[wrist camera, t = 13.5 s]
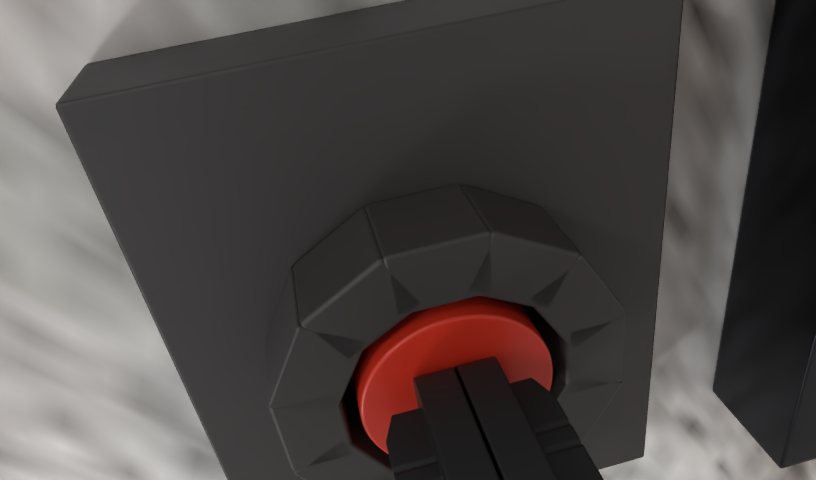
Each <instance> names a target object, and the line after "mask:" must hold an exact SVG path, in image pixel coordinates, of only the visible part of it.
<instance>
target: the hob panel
mask: <svg viewBox="0 0 816 480" xmlns="http://www.w3.org/2000/svg"><path fill="white" fill-rule="evenodd" d="M713 392H714V393H715V394H716V395H717V397H718V398H719V399H720V400H721V401H722V402H723V403H724V405H725V406H726V407H727V408H728V409H729V410H730V411H731V413H732V414H733V415H734V416H735V417H736V418H737V419H738V421H739V422H740V423H741V424H742V425H743V426H744V427H745V429H746V430H747V431H748V432H749V433H750V434H751V435H752V437H753V438H754V439H755V440H756V441H757V442H758V443H759V445H760V446H761V447H762V448H763V449H764V450H765V451H766V453H767V454H768V455H769V456H770V457H771V458H772V460H773V461H774V462H775V463H776V464H777V465H778V466H779V467H780V468H785V467H789V466H792V465H795V464H799V463H802V462H805V461H809V460H812V459H815V458H816V0H776V3H775V9H774V15H773V22H772V28H771V34H770V40H769V46H768V52H767V59H766V65H765V71H764V77H763V83H762V89H761V96H760V102H759V108H758V114H757V120H756V126H755V133H754V139H753V145H752V151H751V157H750V164H749V170H748V176H747V182H746V188H745V194H744V201H743V207H742V213H741V219H740V225H739V231H738V238H737V244H736V250H735V256H734V262H733V268H732V275H731V281H730V287H729V293H728V299H727V306H726V312H725V318H724V324H723V330H722V336H721V343H720V349H719V355H718V361H717V367H716V373H715V380H714V386H713Z"/></svg>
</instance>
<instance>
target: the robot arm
mask: <svg viewBox="0 0 816 480" xmlns="http://www.w3.org/2000/svg"><path fill="white" fill-rule="evenodd" d="M454 370H455V371H454ZM413 383H414V389H415V394H416V399H417V405H418V408H417V409H414V410H410V411H406V412H403V413H399V414H395V415H392V417H391V421H390V426H389V430H388V434H387V439H386V445H387V449H388V454H389V458H390V462H391V466H392V470H393V475H394V479H395V480H603V478H602V476H601V474H600V473H599V471H598V469H597V467H596V466H595V464H594V462H593V461H592V459H591V457H590V455H589V454H588V452H587V450H586V448H585V447H584V445H582V444H581V441H580V438H579V436H578V435H577V433H576V431H575V429H574V428H573V426H572V424H570V423H569V419H568V417H567V416H566V414H565V412H564V410H563V409H562V407H561V405H560V404H559V402H558V400H557V398H556V397H555V395H554V394H552V393H551V392H550V391H548V390H547V389H546V388H545V387H543V386H542V385H541V384H539V383H538V382H537V381H535V380H534V379H533V378H528V379H524V380H520V381H516V382H513V383H509V381H508V379H507V377H506V375H505V373H504V371H503V369H502V367H501V365H500V363H499V362H498V360H497V358H496V357H494V356H493V357H489V358H485V359H481V360H477V361H474V362H470V363H466V364H462V365H459V366H455V368H454V369H453V368H448V369H444V370H440V371H437V372H433V373H429V374H425V375H422V376H418V377H414V378H413Z"/></svg>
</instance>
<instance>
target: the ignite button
mask: <svg viewBox="0 0 816 480" xmlns="http://www.w3.org/2000/svg"><path fill="white" fill-rule="evenodd" d="M493 356H494V357H496V358H497V360H498V362H499V363H500V365H501V367H502V369H503V371H504V373H505V375H506V377H507V379H508V381H509V383H513V382H516V381H520V380H524V379H528V378H533V379H534V380H535V381H537V382H538V383H539V384H541V385H542V386H543V387H545V388H546V389H547V390H548V391H550V389H551V384H552V377H553V366H552V359H551V355H550V352H549V350H548V348H547V346H546V344H545V342H544V340H543V339H542V337H541V335H540V334H539V332H538V331H537V329H536V327H535V326H534V324H533V323H532V321H531V319H530V318H529V316H528V314H527V313H526V311H525V310H524V308H523V306H522V305H521V304H517V303H512V302H508V301H503V300H498V299H493V298H489V297H484V296H476V297H472V298H468V299H464V300H460V301H456V302H452V303H449V304H445V305H441V306H437V307H433V308H429V309H425V310H421V311H417V312H413V313H411V314H409V315H408V316H407V317H406V318H404V319H403V320H402V321H400V322H399V323H398V324H397V325H395V326H394V327H393V328H391V329H390V330H389V331H388V332H386V333H385V334H384V335H382V336H381V337H380V338H379V339H377V340H376V341H375V342H373V343H372V344H371V345H370V346H368V347H367V348H366V349H364V350H363V351H362V353H361V356H360V358H359V360H358V363H357V365H356V367H355V370H354V372H353V374H352V378H353V383H354V388H355V393H356V398H357V402H358V407H359V412H360V417H361V421H362V424H363V427H364V429H365V431H366V433H367V434H368V436H369V437H370V439H371V440H372V441H373V442H374V443H375V444H376V445H377V446H378V447H379V448H380V449H382V450H383V451H384V452H386V453H387V454H388V449H387V445H386V439H387V434H388V430H389V426H390V421H391V417H392V415H395V414H399V413H403V412H406V411H410V410H414V409H417V408H418V405H417V399H416V394H415V389H414V383H413V378H414V377H418V376H422V375H425V374H429V373H433V372H437V371H440V370H444V369H448V368H453V369H454V368H455V366H459V365H462V364H466V363H470V362H474V361H477V360H481V359H485V358H489V357H493ZM454 371H455V370H454Z"/></svg>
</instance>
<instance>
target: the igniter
mask: <svg viewBox="0 0 816 480" xmlns="http://www.w3.org/2000/svg"><path fill="white" fill-rule="evenodd" d="M682 9H683V0H405V1H400V2H395V3H390V4H385V5H380V6H375V7H370V8H365V9H360V10H355V11H350V12H345V13H340V14H335V15H330V16H325V17H320V18H315V19H310V20H305V21H300V22H295V23H290V24H285V25H280V26H275V27H270V28H265V29H260V30H255V31H250V32H245V33H240V34H235V35H230V36H225V37H219V38H214V39H209V40H204V41H199V42H194V43H189V44H184V45H179V46H174V47H169V48H164V49H159V50H154V51H149V52H144V53H139V54H134V55H129V56H124V57H119V58H114V59H109V60H104V61H99V62H94V63H89V64H87V65H85V66H84V68H83V69H82V70H81V72H80V73H79V74H78V76H77V77H76V78H75V80H74V81H73V82H72V84H71V85H70V86H69V88H68V89H67V90H66V92H65V93H64V94H63V95H62V97H61V98H60V99H59V101H58V102H57V103H56V109H57V111H58V114H59V116H60V118H61V120H62V122H63V124H64V126H65V129H66V131H67V133H68V135H69V137H70V139H71V142H72V144H73V146H74V148H75V150H76V152H77V155H78V157H79V159H80V161H81V163H82V165H83V168H84V170H85V172H86V174H87V176H88V178H89V181H90V183H91V185H92V187H93V189H94V191H95V194H96V196H97V198H98V200H99V202H100V204H101V207H102V209H103V211H104V213H105V215H106V217H107V220H108V222H109V224H110V226H111V228H112V230H113V233H114V235H115V237H116V239H117V241H118V243H119V246H120V248H121V250H122V252H123V254H124V256H125V259H126V261H127V263H128V265H129V267H130V269H131V272H132V274H133V276H134V278H135V280H136V282H137V285H138V287H139V289H140V291H141V293H142V295H143V298H144V300H145V302H146V304H147V306H148V308H149V310H150V313H151V315H152V317H153V319H154V321H155V323H156V326H157V328H158V330H159V332H160V334H161V336H162V339H163V341H164V343H165V345H166V347H167V349H168V352H169V354H170V356H171V358H172V360H173V362H174V365H175V367H176V369H177V371H178V373H179V375H180V378H181V380H182V382H183V384H184V386H185V388H186V391H187V393H188V395H189V397H190V399H191V401H192V404H193V406H194V408H195V410H196V412H197V414H198V417H199V419H200V421H201V423H202V425H203V427H204V430H205V432H206V434H207V436H208V438H209V440H210V443H211V445H212V447H213V449H214V451H215V453H216V456H217V458H218V460H219V462H220V464H221V466H222V469H223V471H224V473H225V475H226V477H227V479H228V480H395V479H394V475H393V470H392V466H391V462H390V458H389V454H387V453H386V452H384V451H383V450H382V449H380V448H379V447H378V446H377V445H376V444H375V443H374V442H373V441H372V440H371V439H370V437H369V436H368V434H367V433H366V431H365V429H364V427H363V424H362V421H361V417H360V412H359V407H358V402H357V398H356V393H355V388H354V383H353V378H352V374H353V372H354V370H355V367H356V365H357V363H358V360H359V358H360V356H361V353H362V351H363V350H364V349H366V348H367V347H368V346H370V345H371V344H372V343H373V342H375V341H376V340H377V339H379V338H380V337H381V336H382V335H384V334H385V333H386V332H388V331H389V330H390V329H391V328H393V327H394V326H395V325H397V324H398V323H399V322H400V321H402V320H403V319H404V318H406V317H407V316H408V315H409V314H411V313H413V312H417V311H421V310H425V309H429V308H433V307H437V306H441V305H445V304H449V303H452V302H456V301H460V300H464V299H468V298H472V297H476V296H484V297H489V298H493V299H498V300H503V301H508V302H512V303H517V304H521V305H522V306H523V308H524V310H525V311H526V313H527V314H528V316H529V318H530V319H531V321H532V323H533V324H534V326H535V327H536V329H537V331H538V332H539V334H540V335H541V337H542V339H543V340H544V342H545V344H546V346H547V348H548V350H549V352H550V355H551V359H552V366H553V377H552V384H551V389H550V392H551V393H552V394H554V395H555V397H556V398H557V400H558V402H559V404H560V405H561V407H562V409H563V410H564V412H565V414H566V416H567V417H568V419H569V423H570V424H572V426H573V428H574V429H575V431H576V433H577V435H578V436H579V438H580V441H581V444H582V445H584V447H585V448H586V450H587V452H588V454H589V455H590V457H591V459H592V461H593V462H594V464H595V466H596V467H597V469H598V470H599V469H603V468H606V467H610V466H613V465H617V464H620V463H623V462H627V461H630V460H634V459H637V458H641V457H643V456H644V447H645V435H646V424H647V412H648V401H649V389H650V378H651V366H652V355H653V343H654V332H655V320H656V309H657V297H658V285H659V274H660V262H661V251H662V239H663V228H664V216H665V205H666V193H667V182H668V170H669V159H670V147H671V136H672V124H673V113H674V101H675V90H676V78H677V67H678V55H679V44H680V32H681V21H682Z"/></svg>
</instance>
